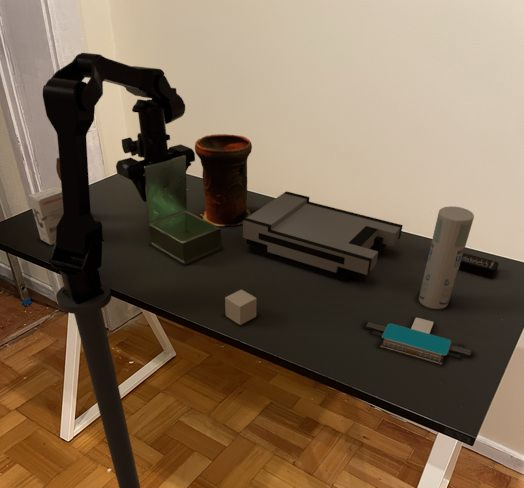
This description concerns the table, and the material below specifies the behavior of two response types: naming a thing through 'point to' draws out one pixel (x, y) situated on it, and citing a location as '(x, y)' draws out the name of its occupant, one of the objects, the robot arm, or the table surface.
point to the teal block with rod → (417, 341)
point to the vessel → (224, 177)
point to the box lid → (165, 188)
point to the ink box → (47, 212)
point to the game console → (318, 236)
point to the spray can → (445, 256)
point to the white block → (240, 307)
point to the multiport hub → (478, 266)
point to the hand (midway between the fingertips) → (160, 196)
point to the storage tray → (185, 237)
